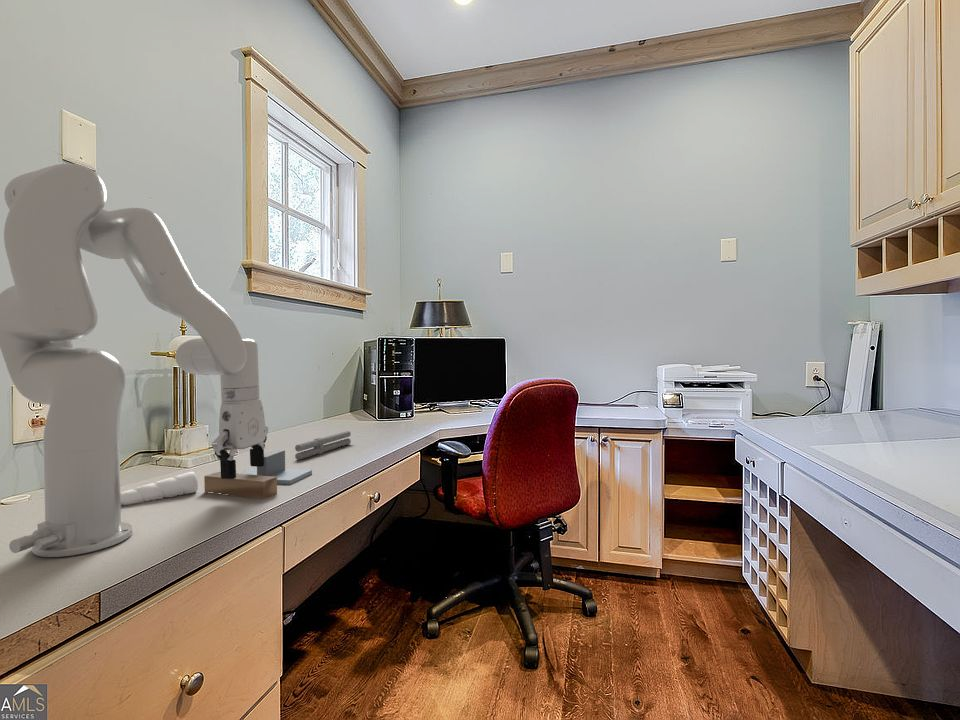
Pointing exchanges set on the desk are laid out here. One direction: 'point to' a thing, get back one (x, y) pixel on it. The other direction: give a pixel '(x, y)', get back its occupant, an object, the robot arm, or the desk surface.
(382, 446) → the desk surface
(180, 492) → the unicorn horn
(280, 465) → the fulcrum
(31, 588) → the desk surface
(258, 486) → the walnut bar
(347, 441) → the metal rod assembly
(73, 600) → the desk surface
